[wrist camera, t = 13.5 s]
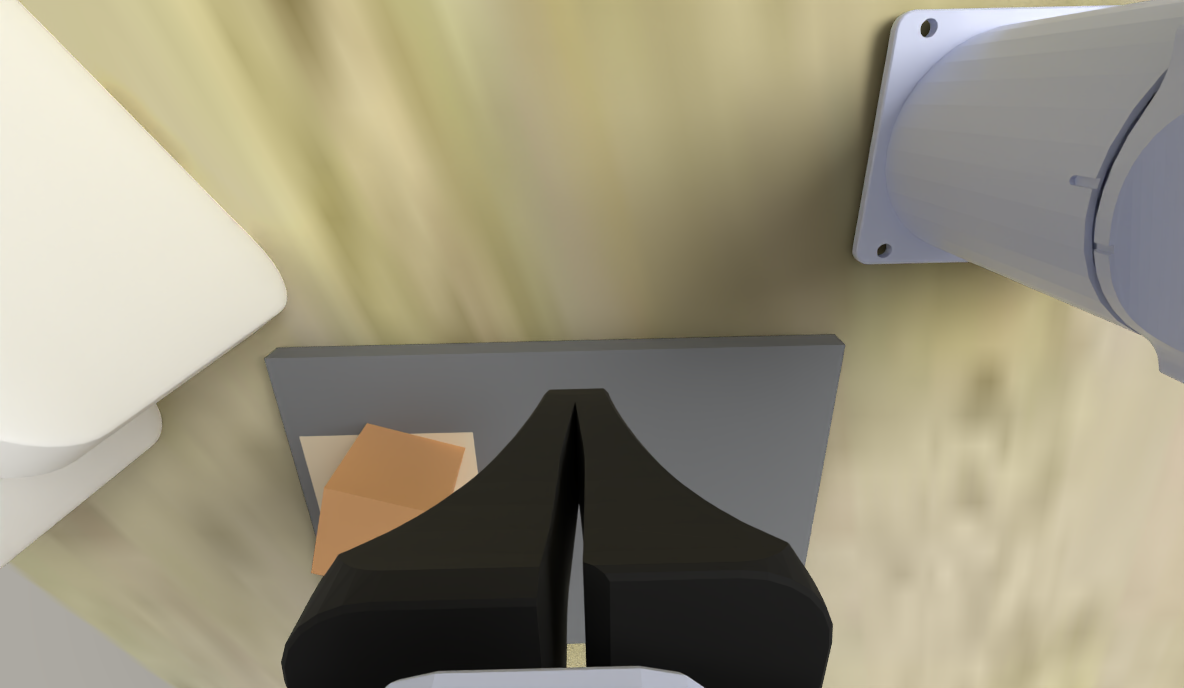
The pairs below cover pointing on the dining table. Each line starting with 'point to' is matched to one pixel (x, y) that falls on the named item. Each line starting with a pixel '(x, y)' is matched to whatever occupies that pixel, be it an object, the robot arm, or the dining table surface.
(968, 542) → the dining table surface
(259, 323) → the cable organizer
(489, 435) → the grey rectangular board
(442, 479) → the plug block
